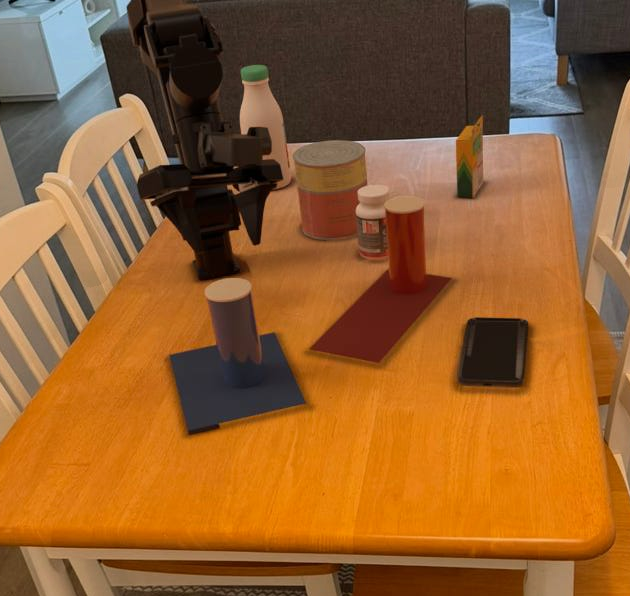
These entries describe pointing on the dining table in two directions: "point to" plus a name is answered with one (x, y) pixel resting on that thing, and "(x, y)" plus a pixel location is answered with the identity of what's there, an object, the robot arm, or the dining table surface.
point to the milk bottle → (264, 115)
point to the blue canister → (236, 332)
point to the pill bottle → (372, 221)
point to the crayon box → (470, 160)
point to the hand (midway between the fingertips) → (229, 248)
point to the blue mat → (227, 402)
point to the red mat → (377, 320)
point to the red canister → (406, 244)
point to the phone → (493, 352)
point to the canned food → (330, 187)
